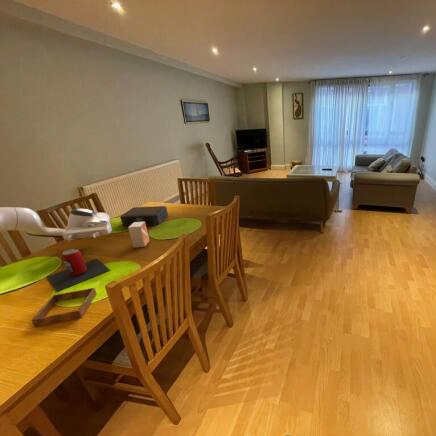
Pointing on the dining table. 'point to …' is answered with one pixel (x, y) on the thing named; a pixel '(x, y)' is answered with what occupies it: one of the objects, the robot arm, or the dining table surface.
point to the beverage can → (74, 262)
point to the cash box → (145, 215)
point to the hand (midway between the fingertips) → (81, 238)
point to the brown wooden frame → (42, 320)
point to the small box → (139, 234)
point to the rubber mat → (66, 280)
